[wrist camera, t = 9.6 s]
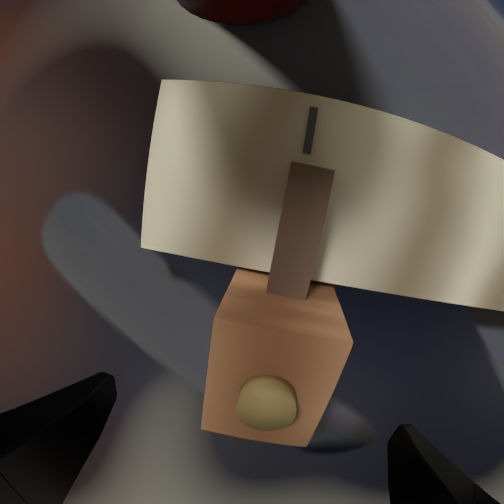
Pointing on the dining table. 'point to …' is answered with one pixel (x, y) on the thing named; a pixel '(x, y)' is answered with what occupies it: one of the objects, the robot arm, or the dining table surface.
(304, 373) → the marking gauge
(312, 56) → the dining table surface
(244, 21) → the soda can
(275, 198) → the maple board
